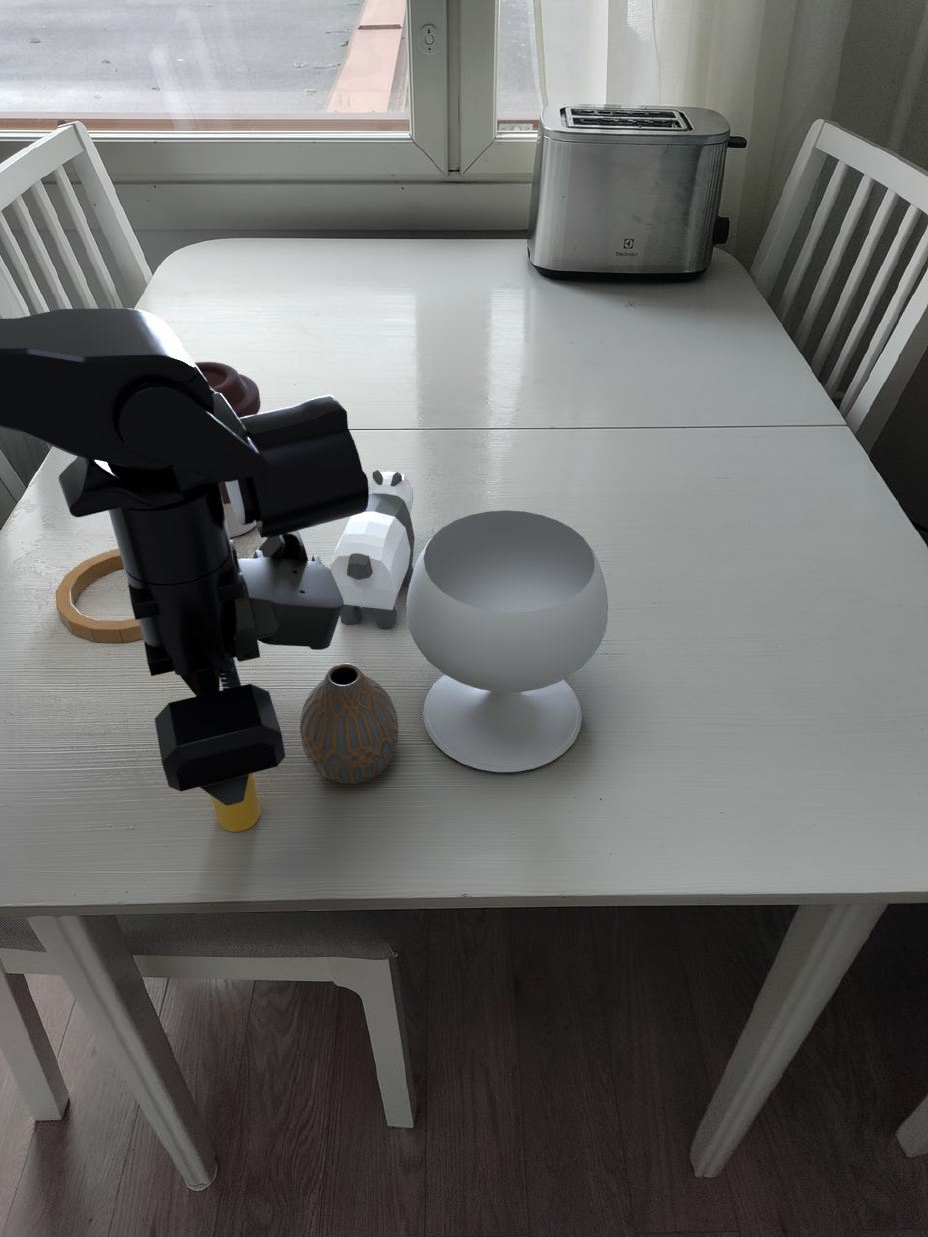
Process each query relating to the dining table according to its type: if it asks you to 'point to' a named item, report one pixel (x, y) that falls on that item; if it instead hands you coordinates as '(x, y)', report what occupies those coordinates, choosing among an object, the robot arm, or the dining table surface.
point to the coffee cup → (244, 403)
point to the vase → (348, 726)
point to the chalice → (506, 635)
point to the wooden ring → (85, 624)
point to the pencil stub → (239, 810)
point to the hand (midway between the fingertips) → (222, 749)
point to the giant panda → (376, 551)
